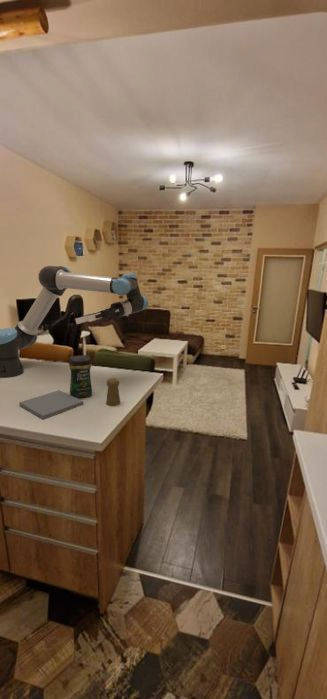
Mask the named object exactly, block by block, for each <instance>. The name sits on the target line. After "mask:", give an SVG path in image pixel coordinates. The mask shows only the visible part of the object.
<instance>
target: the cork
mask: <svg viewBox="0 0 327 699" xmlns="http://www.w3.org/2000/svg"><path fill="white" fill-rule="evenodd" d="M106 385H107V392H106V403H105V404H106V405H107V406H110V407H115V406H119V405H120V404H121V399H120V392H119V385H120V379H119V378H116V377H111V378H108V379H107V380H106Z"/></svg>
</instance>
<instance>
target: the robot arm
mask: <svg viewBox="0 0 327 699" xmlns="http://www.w3.org/2000/svg"><path fill="white" fill-rule="evenodd" d="M37 280H38V281H39V284H40V285H41V286H42V289H41V290H40V292H39V294H38V295H37V297H36V298H35V300H34V302H33V304H32V305H31V307H30V308H29V310H28V312H27V313H26V315H25V316H24V318H23V319H22V320H21V321H19V322H17V324H16V325H15V327H13V328H11V327H6V328H1V329H0V378H12V377H17V376H19V375H22V374H23V373H24V371H25V370H24V366H23V363H22V362H21V359H20V352H19V351H21V350H24V349H27V348H30V347H31V346H33V345H34V344H35V343H36V342H37V340H38V333H39V330H38V328H39V326H40V325H41V324H42V322H43V321H44V319H45V318H46V316H47V314H48V313H49V311H50V309H51V308H52V307H53V305H54V303H55V302H56V300H57V298H58V297H62V296H63V295H64V293H65V291H66V290H67V289H70V290H71V289H72V290H79V291H87V292H88V291H90V292H97V293H108V294H115V295H118V296H126V299H124V300H119V301H116V302H113V303H111V304H110V306H109V308H105V309H103V310H100V311H99V312H95V313H91V314H86V315H84V316H80V317H76V318H75V319H74V321H75V323H76V325H79V324H83V323H86V322H88V323H90V322H95V321H98V320H101V319H104V318H110V317H113V318H114V319H119V318H122V317H124V316H126V317H129V315H132V314H135V313H140V312H142V311H144V310H146V309H148V307H149V300H148V299H147V296H145V295H142V293H141V289H140V287H139V282H138V278H137V275H136V273H135V272H132V273H126V274H123V275H121V277H113V276H106V275H105V276H104V275H97V274H96V275H95V274H86V273H79V272H78V273H76V272H72V270H70V268H68V267H67V266H64V265H63V266H62V265H58V266H56V265H55V266H54V265H47V266H44V267H43V268H41V270H40V271H39V273H38V278H37Z"/></svg>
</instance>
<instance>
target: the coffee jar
mask: <svg viewBox="0 0 327 699" xmlns="http://www.w3.org/2000/svg"><path fill="white" fill-rule="evenodd" d="M68 367H69V369H70V384H69V385H70V387H69V395H71V396H73V397H75V398H78V399H80V398H86V397H87V398H88V397H90V396H92V393H93V389H92V380H91V368H92V359H91V357H90V355H88V354H84V355H83V354H82V355H71V356H69V361H68Z"/></svg>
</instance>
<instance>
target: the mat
mask: <svg viewBox="0 0 327 699" xmlns="http://www.w3.org/2000/svg"><path fill="white" fill-rule="evenodd" d="M84 403H85V402H84V400H83V399H80V398H75V397H73V396H71V395H70V393H69V394H68V393H66V392H64V391H62V390H60V389H59V390H56V391H52V392H50V393H45V394H43V395H39V396H37V397H36V396H35V397H32V398H29V399H26V400H23V401H20V402H19V404H18V405H19V407H20V408H23V409H24V410H26V411H28V412H30V413H31V414H33V415H34V416H37V417H38V418H39V419H42V420H46V419H48V418H51V417H54V416H56V415H59V414H61V413H64V412H66V411H70V410H73V409H75V408H77V407H81V406H83V405H84Z"/></svg>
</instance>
